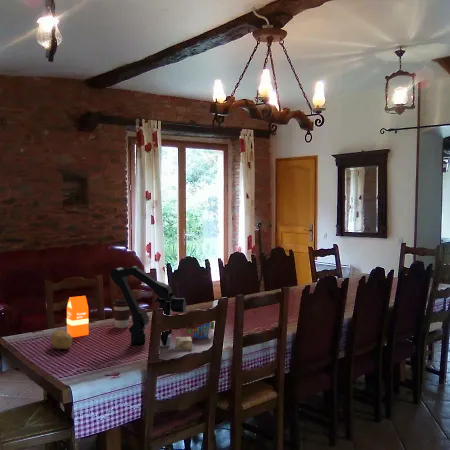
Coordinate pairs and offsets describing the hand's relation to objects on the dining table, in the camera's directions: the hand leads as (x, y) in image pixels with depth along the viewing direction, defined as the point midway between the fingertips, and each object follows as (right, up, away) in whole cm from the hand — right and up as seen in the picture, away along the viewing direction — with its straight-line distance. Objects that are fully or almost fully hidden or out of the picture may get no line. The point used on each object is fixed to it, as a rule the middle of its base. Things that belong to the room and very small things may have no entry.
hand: (164, 343), depth 245 cm
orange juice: (-48, 0, +19) cm, 51 cm away
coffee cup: (-28, +1, +36) cm, 46 cm away
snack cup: (+17, -1, +15) cm, 23 cm away
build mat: (+10, -1, -3) cm, 10 cm away
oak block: (+10, -1, -3) cm, 10 cm away
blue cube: (0, -1, 0) cm, 1 cm away
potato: (-48, -1, -7) cm, 48 cm away
